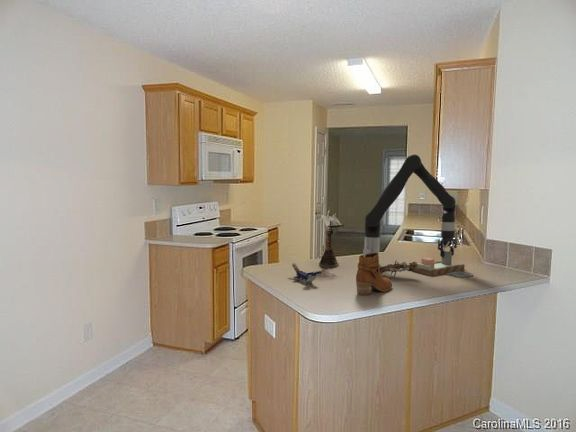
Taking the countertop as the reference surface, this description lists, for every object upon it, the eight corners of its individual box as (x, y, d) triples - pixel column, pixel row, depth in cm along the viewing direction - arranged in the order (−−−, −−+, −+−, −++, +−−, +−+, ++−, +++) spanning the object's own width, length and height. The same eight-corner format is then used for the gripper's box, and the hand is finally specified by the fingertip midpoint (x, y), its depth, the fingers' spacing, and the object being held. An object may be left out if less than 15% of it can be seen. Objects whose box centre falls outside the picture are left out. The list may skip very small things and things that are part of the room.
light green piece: (429, 272, 227) (430, 255, 226) (416, 269, 235) (417, 253, 234) (454, 267, 238) (455, 252, 238) (441, 264, 246) (442, 249, 245)
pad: (462, 278, 220) (462, 277, 219) (446, 274, 228) (446, 273, 228) (473, 275, 225) (473, 274, 225) (457, 272, 233) (457, 271, 233)
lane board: (430, 275, 224) (430, 270, 224) (411, 270, 236) (411, 265, 236) (464, 269, 240) (464, 264, 239) (444, 265, 251) (444, 260, 251)
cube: (428, 268, 229) (428, 260, 229) (421, 267, 234) (421, 258, 233) (434, 267, 232) (434, 259, 232) (427, 266, 236) (427, 257, 236)
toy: (304, 292, 202) (306, 273, 199) (284, 272, 221) (286, 255, 218) (321, 289, 207) (324, 271, 204) (300, 270, 226) (302, 253, 223)
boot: (384, 285, 205) (385, 248, 203) (398, 289, 197) (400, 251, 195) (348, 292, 191) (349, 253, 190) (362, 297, 184) (363, 256, 182)
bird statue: (347, 268, 242) (349, 210, 238) (328, 270, 237) (329, 210, 234) (335, 262, 257) (336, 208, 254) (316, 264, 252) (317, 208, 249)
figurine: (364, 261, 227) (415, 253, 222) (367, 276, 230) (416, 268, 225) (365, 270, 217) (418, 263, 212) (368, 285, 221) (420, 278, 216)
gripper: (450, 227, 246) (449, 254, 248) (434, 229, 239) (434, 256, 240) (461, 229, 240) (460, 256, 241) (445, 230, 233) (444, 258, 234)
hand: (447, 256), depth 241 cm, fingers open, 8 cm apart
